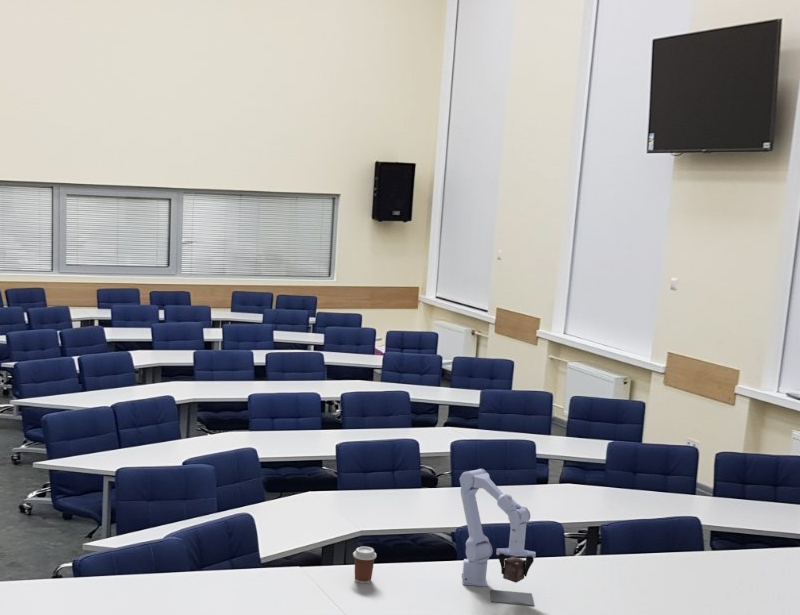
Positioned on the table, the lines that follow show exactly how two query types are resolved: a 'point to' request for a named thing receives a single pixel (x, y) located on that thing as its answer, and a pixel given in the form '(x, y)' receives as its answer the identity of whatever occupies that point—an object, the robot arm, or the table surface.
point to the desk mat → (511, 597)
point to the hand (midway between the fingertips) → (513, 574)
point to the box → (514, 569)
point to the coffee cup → (364, 564)
